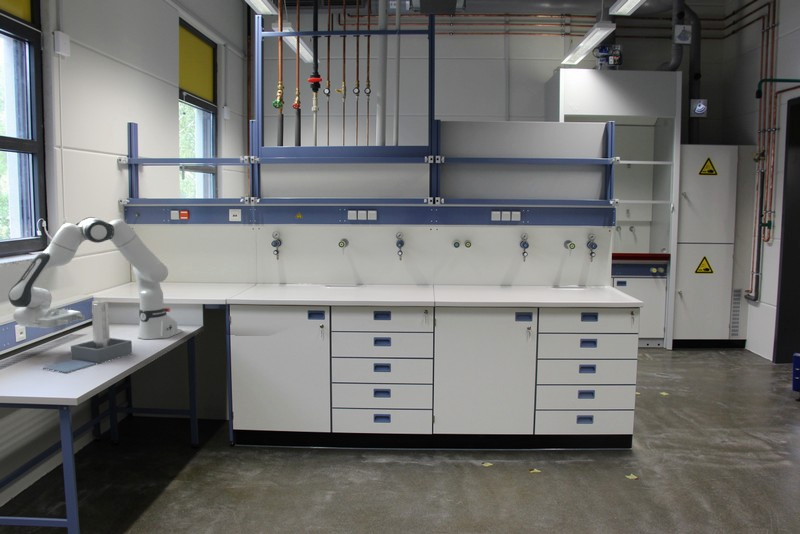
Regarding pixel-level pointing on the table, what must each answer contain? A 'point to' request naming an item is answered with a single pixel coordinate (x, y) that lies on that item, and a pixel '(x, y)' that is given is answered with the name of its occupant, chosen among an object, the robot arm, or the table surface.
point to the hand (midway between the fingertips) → (75, 320)
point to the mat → (69, 366)
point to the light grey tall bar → (100, 324)
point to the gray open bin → (101, 351)
